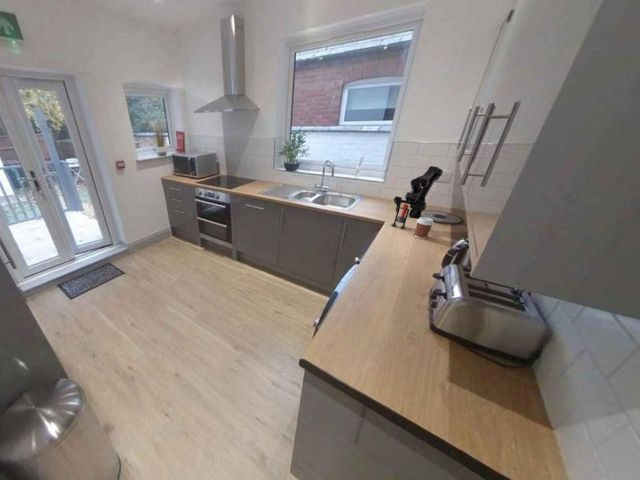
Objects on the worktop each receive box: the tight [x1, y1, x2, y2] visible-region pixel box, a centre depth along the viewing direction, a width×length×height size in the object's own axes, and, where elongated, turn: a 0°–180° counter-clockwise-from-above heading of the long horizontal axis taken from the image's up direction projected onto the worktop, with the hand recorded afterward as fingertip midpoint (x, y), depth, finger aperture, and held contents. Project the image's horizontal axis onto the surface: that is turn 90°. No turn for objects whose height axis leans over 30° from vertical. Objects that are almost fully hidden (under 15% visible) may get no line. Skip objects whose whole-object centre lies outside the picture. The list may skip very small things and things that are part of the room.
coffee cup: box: [413, 216, 435, 240], centre depth 157 cm, size 9×9×12 cm
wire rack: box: [391, 206, 410, 230], centre depth 170 cm, size 2×8×14 cm, turn 39°
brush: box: [396, 203, 409, 224], centre depth 170 cm, size 6×5×12 cm
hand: (403, 213), depth 170 cm, fingers open, 9 cm apart
